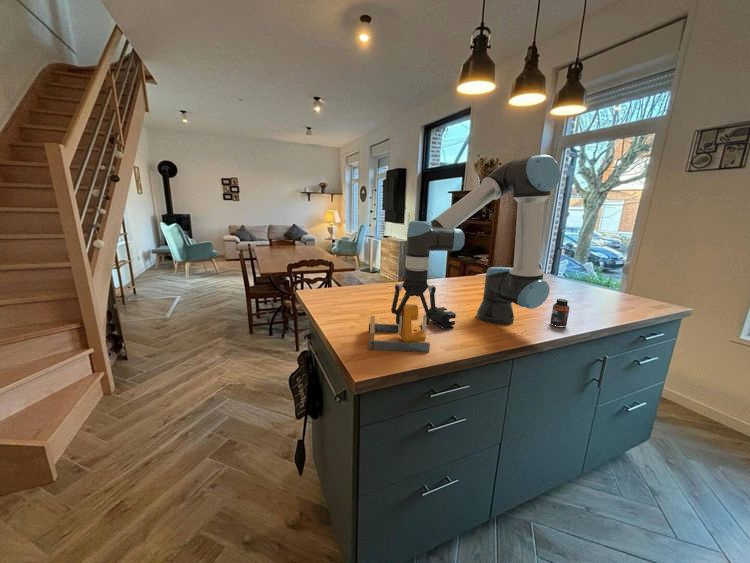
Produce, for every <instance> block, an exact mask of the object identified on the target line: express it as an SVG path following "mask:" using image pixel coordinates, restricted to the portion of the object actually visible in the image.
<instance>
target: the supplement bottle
mask: <svg viewBox="0 0 750 563" xmlns="http://www.w3.org/2000/svg"><path fill="white" fill-rule="evenodd" d="M569 313H570V306H569V300H567V299H564V298H557V299H556V302H555V303H553V305H552V311H551V314H550V315H551V316H550V321H549V324H550V323H551V324H553V325H556V326H566V327H567V325H568V324H567V323H568V318H569ZM551 324H550V325H551ZM553 325H552V326H553Z"/></svg>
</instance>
